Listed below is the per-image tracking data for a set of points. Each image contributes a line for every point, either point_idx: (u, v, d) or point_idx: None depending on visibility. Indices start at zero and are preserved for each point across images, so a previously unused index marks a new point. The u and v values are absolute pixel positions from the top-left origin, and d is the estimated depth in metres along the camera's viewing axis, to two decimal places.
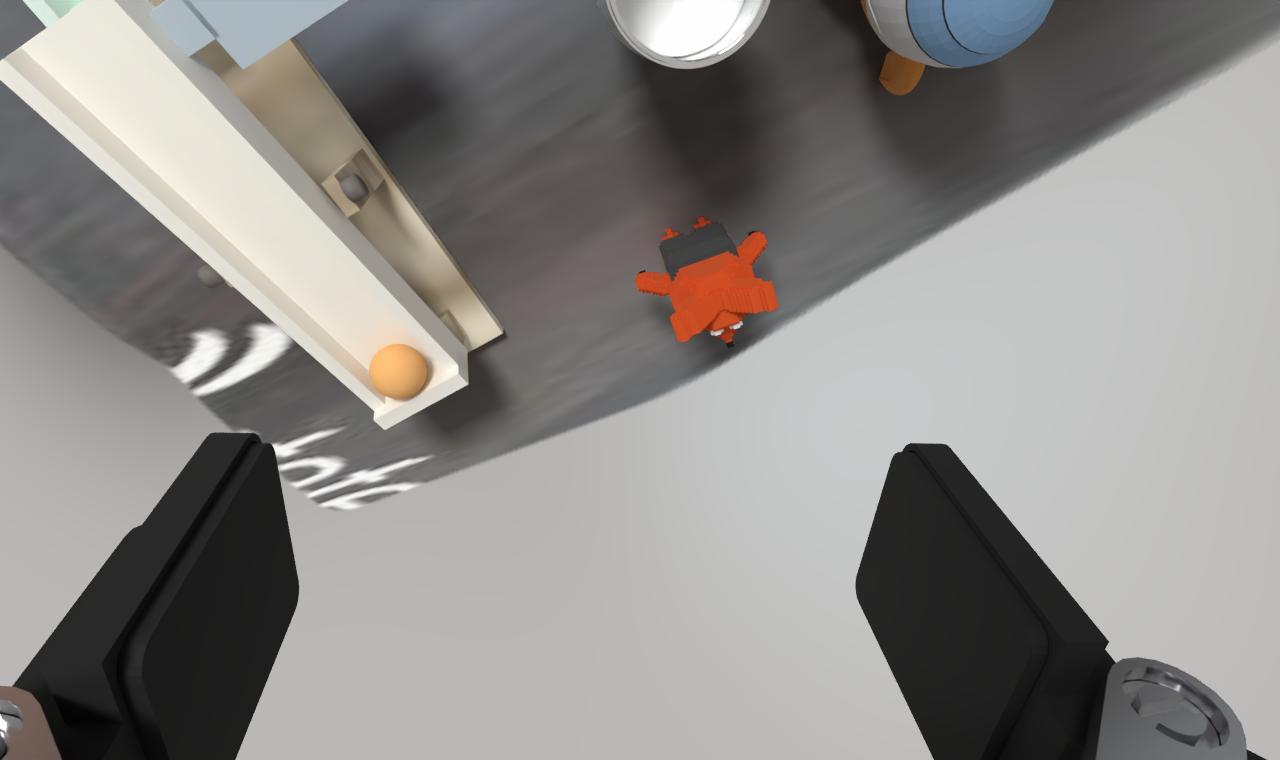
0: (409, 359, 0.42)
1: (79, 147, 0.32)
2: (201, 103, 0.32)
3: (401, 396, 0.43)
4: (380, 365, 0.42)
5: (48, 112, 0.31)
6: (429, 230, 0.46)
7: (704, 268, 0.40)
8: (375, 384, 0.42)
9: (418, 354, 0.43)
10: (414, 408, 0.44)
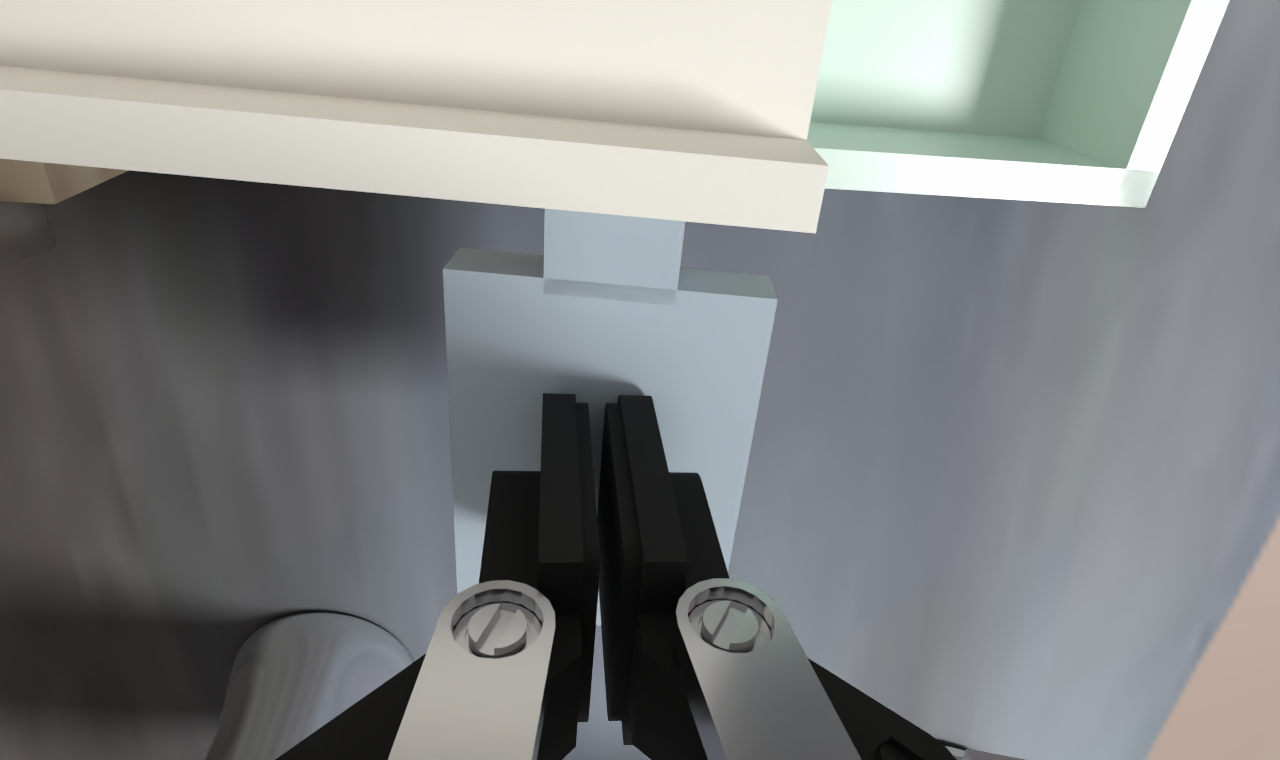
0: None
1: None
2: (402, 165, 0.09)
3: None
4: None
5: None
6: None
7: None
8: None
9: None
10: None
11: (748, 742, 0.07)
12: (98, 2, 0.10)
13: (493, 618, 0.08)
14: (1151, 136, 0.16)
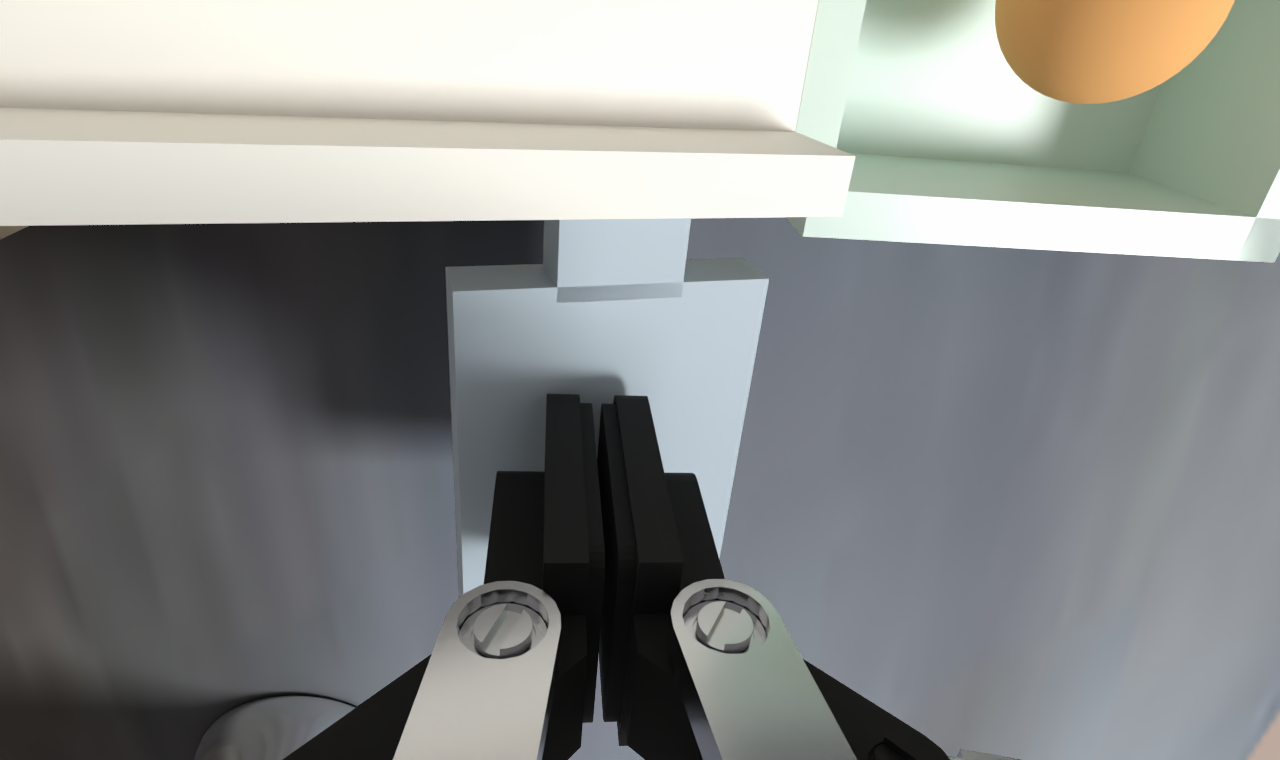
0: (1030, 81, 0.12)
1: None
2: (465, 189, 0.08)
3: None
4: None
5: None
6: None
7: None
8: None
9: (1085, 103, 0.12)
10: None
11: (744, 743, 0.07)
12: (11, 17, 0.08)
13: (500, 618, 0.08)
14: None
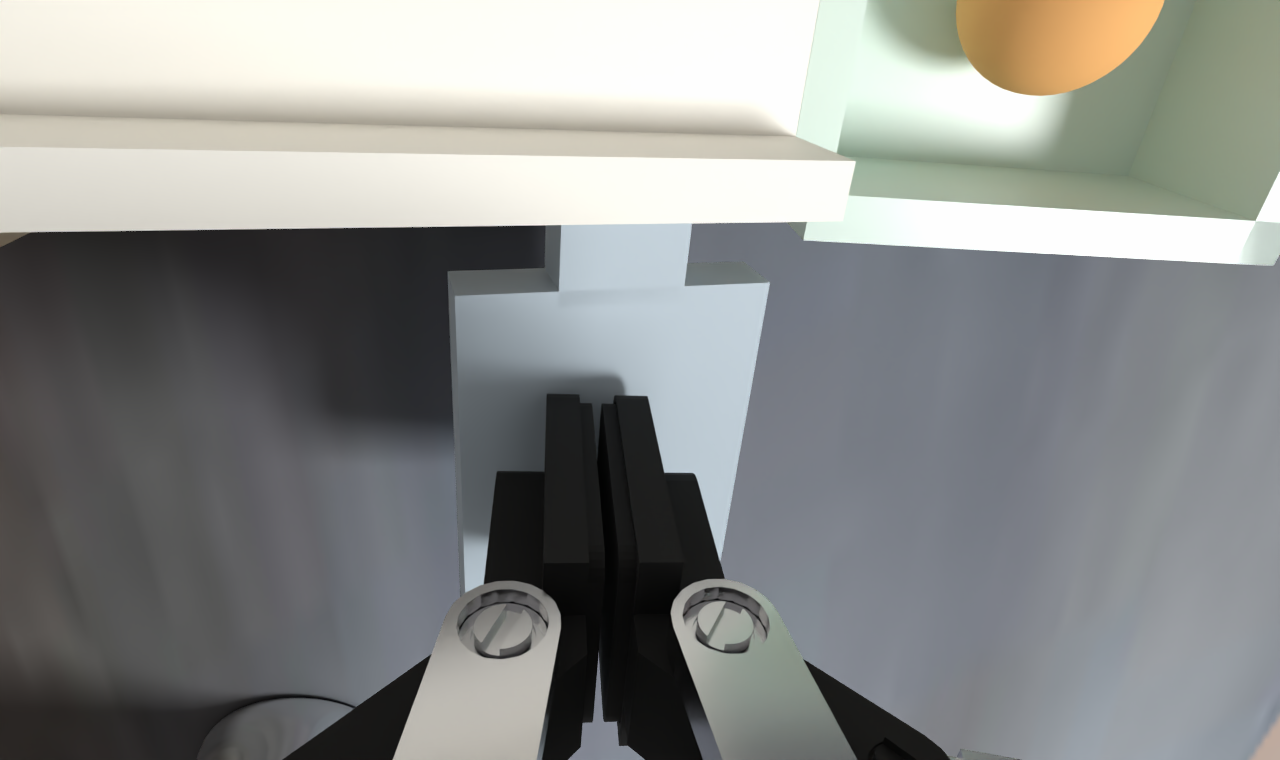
0: (1075, 86, 0.13)
1: None
2: (468, 194, 0.08)
3: None
4: None
5: None
6: None
7: None
8: None
9: None
10: None
11: (743, 743, 0.07)
12: (18, 25, 0.08)
13: (499, 619, 0.08)
14: None
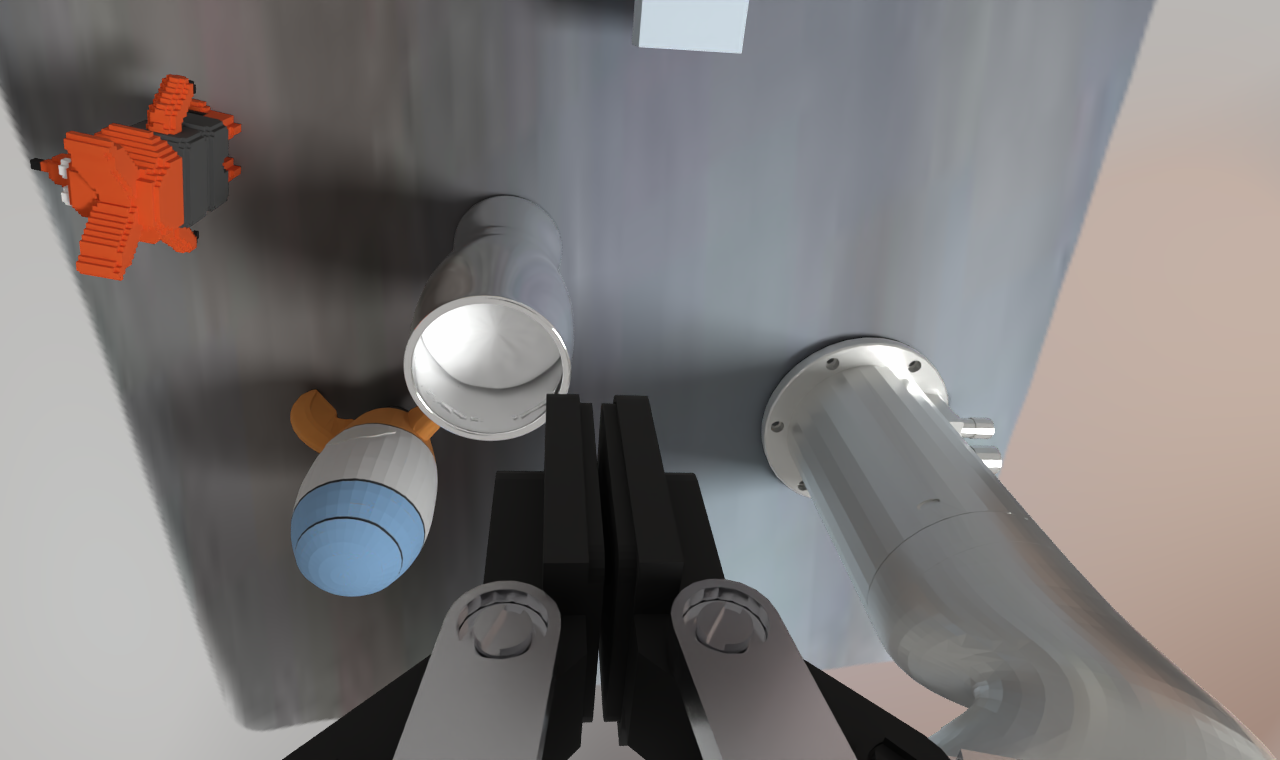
0: None
1: None
2: None
3: None
4: None
5: None
6: None
7: (171, 195, 0.31)
8: None
9: None
10: None
11: (743, 743, 0.07)
12: None
13: (499, 619, 0.08)
14: None
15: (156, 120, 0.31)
